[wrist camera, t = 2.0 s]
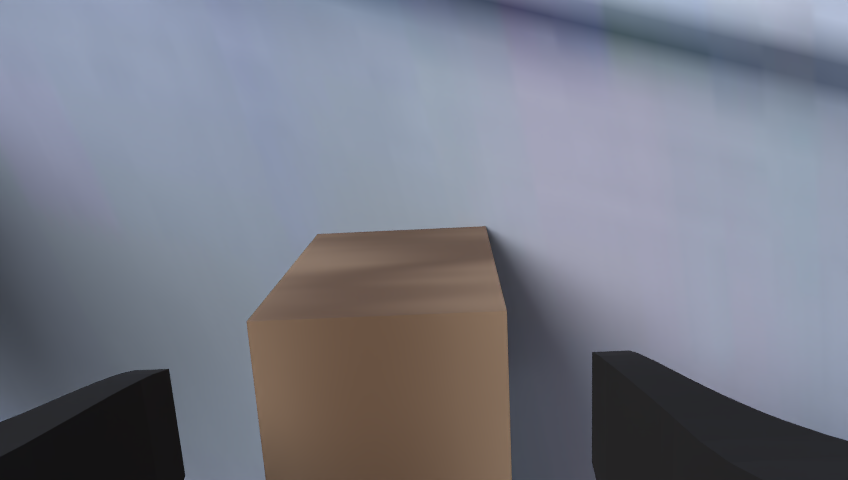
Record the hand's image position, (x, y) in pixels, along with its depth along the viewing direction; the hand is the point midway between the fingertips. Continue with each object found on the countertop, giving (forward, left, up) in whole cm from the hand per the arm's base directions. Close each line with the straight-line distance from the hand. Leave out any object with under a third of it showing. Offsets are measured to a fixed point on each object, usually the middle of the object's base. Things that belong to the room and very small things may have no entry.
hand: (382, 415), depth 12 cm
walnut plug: (0, 0, -5) cm, 5 cm away
